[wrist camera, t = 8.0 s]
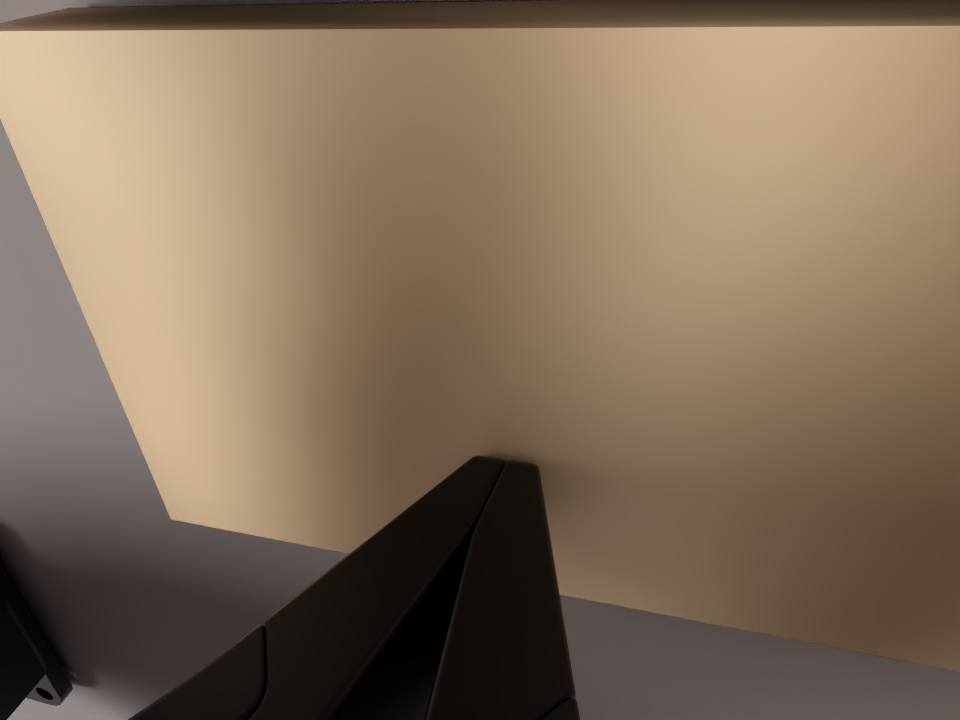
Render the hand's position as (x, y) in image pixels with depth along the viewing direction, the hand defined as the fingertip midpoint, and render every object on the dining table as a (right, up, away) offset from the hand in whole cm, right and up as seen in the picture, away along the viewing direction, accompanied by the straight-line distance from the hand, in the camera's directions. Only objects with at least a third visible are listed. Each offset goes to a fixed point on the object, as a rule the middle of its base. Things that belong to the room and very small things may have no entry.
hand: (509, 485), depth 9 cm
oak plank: (+5, +2, -1) cm, 5 cm away
